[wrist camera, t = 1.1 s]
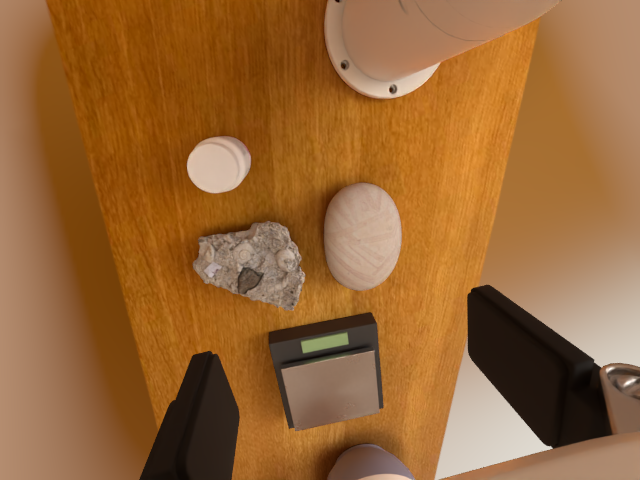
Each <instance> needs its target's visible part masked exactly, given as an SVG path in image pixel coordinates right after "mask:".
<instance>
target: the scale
mask: <svg viewBox="0 0 640 480" xmlns="http://www.w3.org/2000/svg"><path fill="white" fill-rule="evenodd" d="M269 347H270V351H271V356H272V360H273V364H274V368H275V372H276V376H277V381H278V385H279V389H280V393H281V397H282V401H283V406H284V410H285V414H286V418H287V422H288V426H289V429H290V428H294V423H293V419H292V415H291V410H290V406H289V402H288V397H287V393H286V389H285V384H284V380H283V376H282V371H281V365H284V364H289V363H294V362H299V361H304V360H309V359H314V358H319V357H324V356H329V355H333V354H338V353H343V352H348V351H353V350H358V349H363V348H368V347H373V349H374V356H375V367H376V378H377V390H378V401H379V409H381V408H384V407H383V395H382V383H381V370H380V358H379V345H378V333H377V323H376V321H375V319H374V317H373V315H372V313H366V314H361V315H356V316H350V317H345V318H340V319H335V320H330V321H325V322H320V323H314V324H309V325H304V326H299V327H294V328H289V329H283V330H278V331H273V332H269Z"/></svg>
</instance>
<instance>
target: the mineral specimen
mask: <svg viewBox="0 0 640 480" xmlns="http://www.w3.org/2000/svg"><path fill="white" fill-rule="evenodd" d="M198 241H199V242H198V243H199V245H200V249H199V255H198V258H197V260H195V261H194V262H193V269H194V270H195V271H196V272H197V273H198V274H199V275H200V277H201V278H202V279H203V280H204V282H205V283H206V284H207V283H212V284H213V285H215V286H216V287H222V288H224V289H228V290H229V291H231V292H232V293H233V294H235V293H236V294H241V295H242V296H245V297H250V300H253V301H254V300H261V301H262V302H268V303H270V304H274V305H275V306H276V307H277V308H278V307H279V306H281V307H282V308H284V309H285V310H294V308H293V306H296V304H297V302H298V301H299V300H298V299H299V296H300V295H299V294H300V292H301V291H302V284H303V282H304V281H305V279H304V277H305V273H304V272H302V271H301V269H302V268H301V267H300V266H298V265H299V262H300V261H301V260H302V258H301V256H300V254H299V252H298V247H297V245H296V244H295V243H294V242H293V241H291V237H289V232H288V230H287V228H286V227H285V226H281V225H280V224H279V223H273V222H270V221H266V222H265V223H257V222H255V223H253V224H252V225H251V228H250V229H249V230H247V231H239V232H235V233H232V232H230V233H227V234H217V235H215V234H213V235H209V236H207V237H200V238H199V240H198Z"/></svg>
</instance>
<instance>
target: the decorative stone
mask: <svg viewBox="0 0 640 480" xmlns="http://www.w3.org/2000/svg"><path fill="white" fill-rule="evenodd" d="M401 239H402V231H401V221H400V217H399V213H398V210H397V208H396V205H395V203H394V202H393V200H392V199H391V197H390V196H389V195H388V194H387V193H386V192H385V191H384V190H383V189H381V188H380V187H378V186H376V185H373V184H370V183H355V184H351V185H349V186H346V187H345V188H343V189H341V190H340V191H339V192H338V193H337V194H336V195H335V196H334V197H333V199H332V200H331V202H330V204H329V206H328V209H327V212H326V216H325V223H324V248H325V255H326V260H327V264H328V267H329V269H330V271H331V274H332V275H333V277H334V278H335V279H336V280H337V281H338V282H339V283H340V284H341V285H343V286H345V287H347V288H349V289H352V290H360V291H361V290H368V289H371V288H374V287H376V286H378V285H379V284H381V283H382V282H383V281H384V280H385V279H386V278H387V277H388V276H389V275H390V274H391V272H392V271H393V269H394V267H395V265H396V263H397V260H398V257H399V253H400V248H401Z"/></svg>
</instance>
